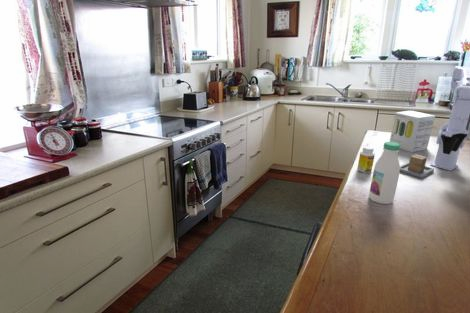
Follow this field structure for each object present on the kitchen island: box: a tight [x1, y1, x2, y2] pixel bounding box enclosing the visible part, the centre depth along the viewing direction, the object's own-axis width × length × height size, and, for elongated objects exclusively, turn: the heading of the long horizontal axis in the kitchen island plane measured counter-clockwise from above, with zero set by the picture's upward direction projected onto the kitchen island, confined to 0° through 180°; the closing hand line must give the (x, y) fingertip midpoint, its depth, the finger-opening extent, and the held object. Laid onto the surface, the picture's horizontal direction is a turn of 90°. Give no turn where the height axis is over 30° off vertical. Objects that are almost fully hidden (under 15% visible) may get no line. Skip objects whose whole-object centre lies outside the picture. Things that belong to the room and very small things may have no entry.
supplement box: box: [389, 110, 436, 153], centre depth 161 cm, size 13×13×18 cm
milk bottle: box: [368, 141, 401, 205], centre depth 104 cm, size 8×8×20 cm
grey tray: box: [400, 161, 435, 180], centre depth 132 cm, size 12×10×2 cm
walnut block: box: [408, 153, 428, 173], centre depth 131 cm, size 4×4×6 cm
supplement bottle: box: [356, 145, 376, 174], centre depth 130 cm, size 6×6×10 cm
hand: (449, 152), depth 124 cm, fingers open, 7 cm apart
